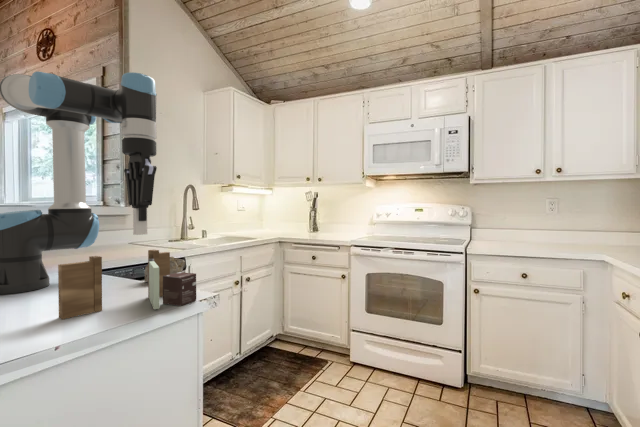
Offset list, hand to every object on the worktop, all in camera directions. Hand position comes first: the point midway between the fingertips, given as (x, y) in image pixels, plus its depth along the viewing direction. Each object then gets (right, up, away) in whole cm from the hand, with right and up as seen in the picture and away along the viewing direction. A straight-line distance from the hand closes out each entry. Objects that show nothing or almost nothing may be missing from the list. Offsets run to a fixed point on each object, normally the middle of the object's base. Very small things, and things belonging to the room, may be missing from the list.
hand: (140, 234), depth 85 cm
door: (+2, -18, +2) cm, 18 cm away
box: (+8, -18, +5) cm, 21 cm away
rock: (-7, -18, +30) cm, 36 cm away
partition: (-6, -18, +2) cm, 19 cm away
